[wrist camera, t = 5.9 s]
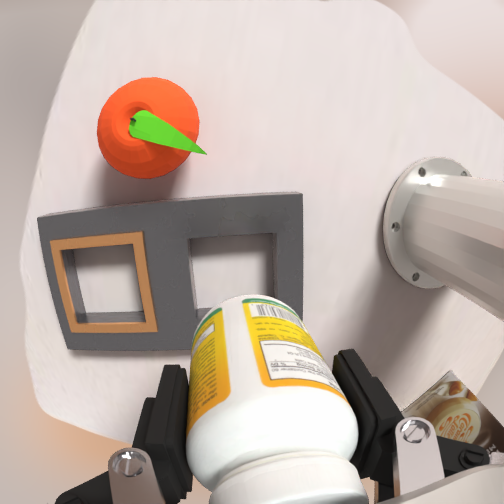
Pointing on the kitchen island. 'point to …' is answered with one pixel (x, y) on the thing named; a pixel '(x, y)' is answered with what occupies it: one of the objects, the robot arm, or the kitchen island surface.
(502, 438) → the coffee box
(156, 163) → the clementine
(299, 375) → the supplement bottle
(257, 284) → the kitchen island surface
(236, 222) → the two-pocket grey tray
